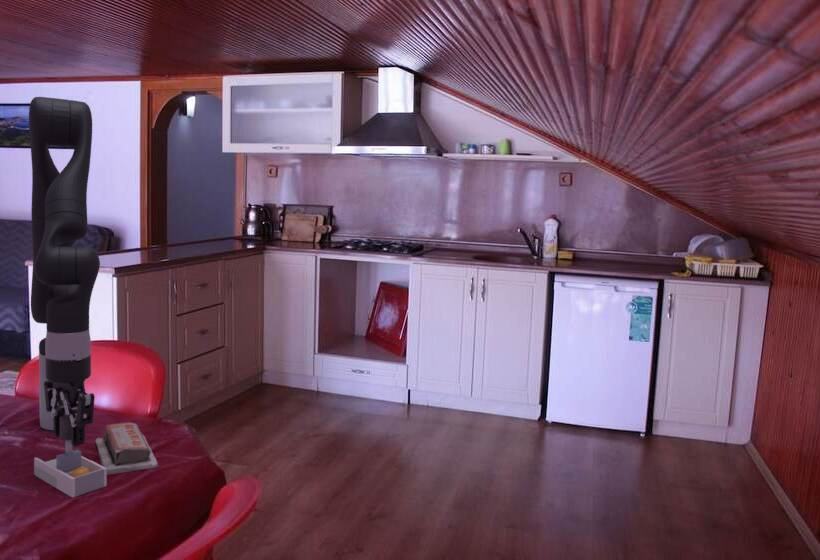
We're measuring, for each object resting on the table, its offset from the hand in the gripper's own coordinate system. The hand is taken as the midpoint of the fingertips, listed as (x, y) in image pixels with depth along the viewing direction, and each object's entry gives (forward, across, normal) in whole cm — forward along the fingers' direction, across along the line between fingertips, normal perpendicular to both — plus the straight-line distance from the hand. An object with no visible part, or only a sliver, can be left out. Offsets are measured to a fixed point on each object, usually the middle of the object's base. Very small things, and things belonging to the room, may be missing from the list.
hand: (69, 439), depth 125 cm
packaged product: (+9, -3, +14) cm, 17 cm away
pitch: (+8, -2, 0) cm, 8 cm away
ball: (+6, +4, 0) cm, 7 cm away
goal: (+8, +4, 0) cm, 9 cm away
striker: (+6, 0, 0) cm, 6 cm away
